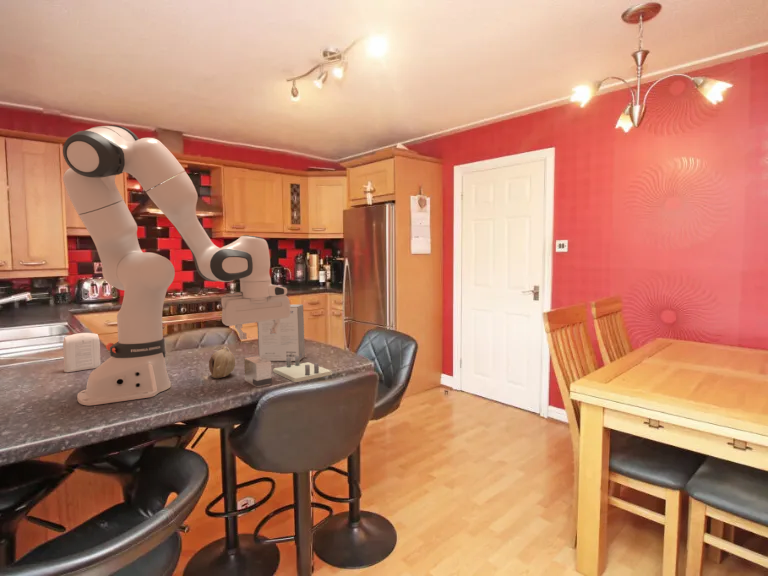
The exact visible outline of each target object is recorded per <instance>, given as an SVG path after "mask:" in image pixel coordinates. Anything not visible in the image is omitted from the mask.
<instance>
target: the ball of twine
mask: <svg viewBox="0 0 768 576" xmlns="http://www.w3.org/2000/svg"><path fill="white" fill-rule="evenodd" d="M235 367H236V358H235V355H234V354H233V353H232V351H231V350H230V348H229V347H228V346H223V347H222V348H221V349H220V350H216V351H214V353H213V354H211V356H210V359H209V361H208V368H209V369H208V370H209V372H210V377H211V378H214V379H221V378H225V377H228V376H230V374H231V373H232V372H233V371H234V369H235Z"/></svg>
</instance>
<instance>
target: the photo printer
mask: <svg viewBox="0 0 768 576" xmlns="http://www.w3.org/2000/svg"><path fill="white" fill-rule="evenodd" d="M62 348H63V349H62V350H63V351H62V352H63V354H62V355H63V372H64V373H73V372H80V371H86V370H92V369H93V370H94V369H96V368H97V367H99V366H100V365H101V364H102V363H101V343H100V338H99V334H97V333H93V332H79V333H74V334H70V335H68V336H65V337H64V338H63V341H62Z"/></svg>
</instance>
